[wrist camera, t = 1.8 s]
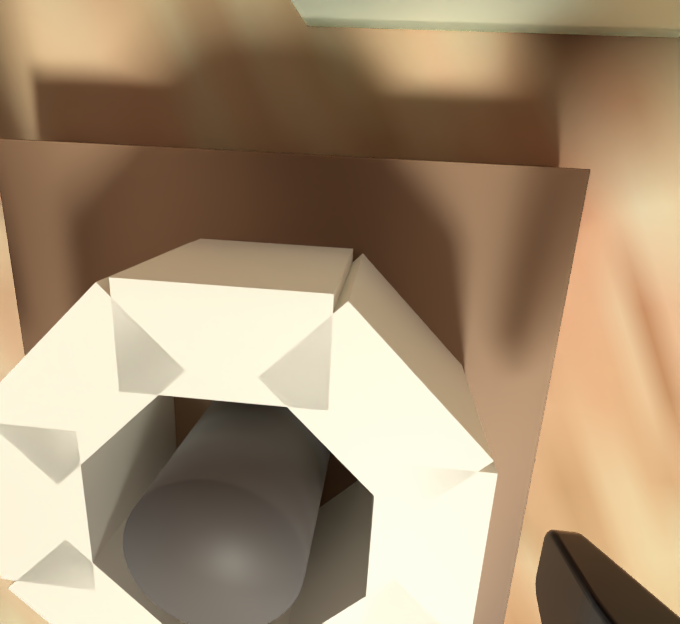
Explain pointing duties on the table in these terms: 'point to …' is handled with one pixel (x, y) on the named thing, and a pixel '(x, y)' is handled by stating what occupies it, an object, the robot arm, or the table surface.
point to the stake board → (329, 202)
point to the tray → (501, 16)
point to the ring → (255, 388)
